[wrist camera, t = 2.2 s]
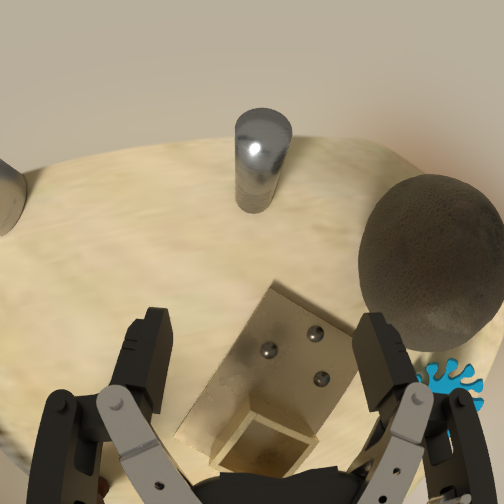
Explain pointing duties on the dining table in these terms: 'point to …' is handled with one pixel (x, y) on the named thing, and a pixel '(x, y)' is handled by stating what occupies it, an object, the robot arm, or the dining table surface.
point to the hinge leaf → (271, 392)
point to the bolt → (101, 490)
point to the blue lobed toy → (453, 381)
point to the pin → (259, 156)
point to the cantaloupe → (433, 261)
